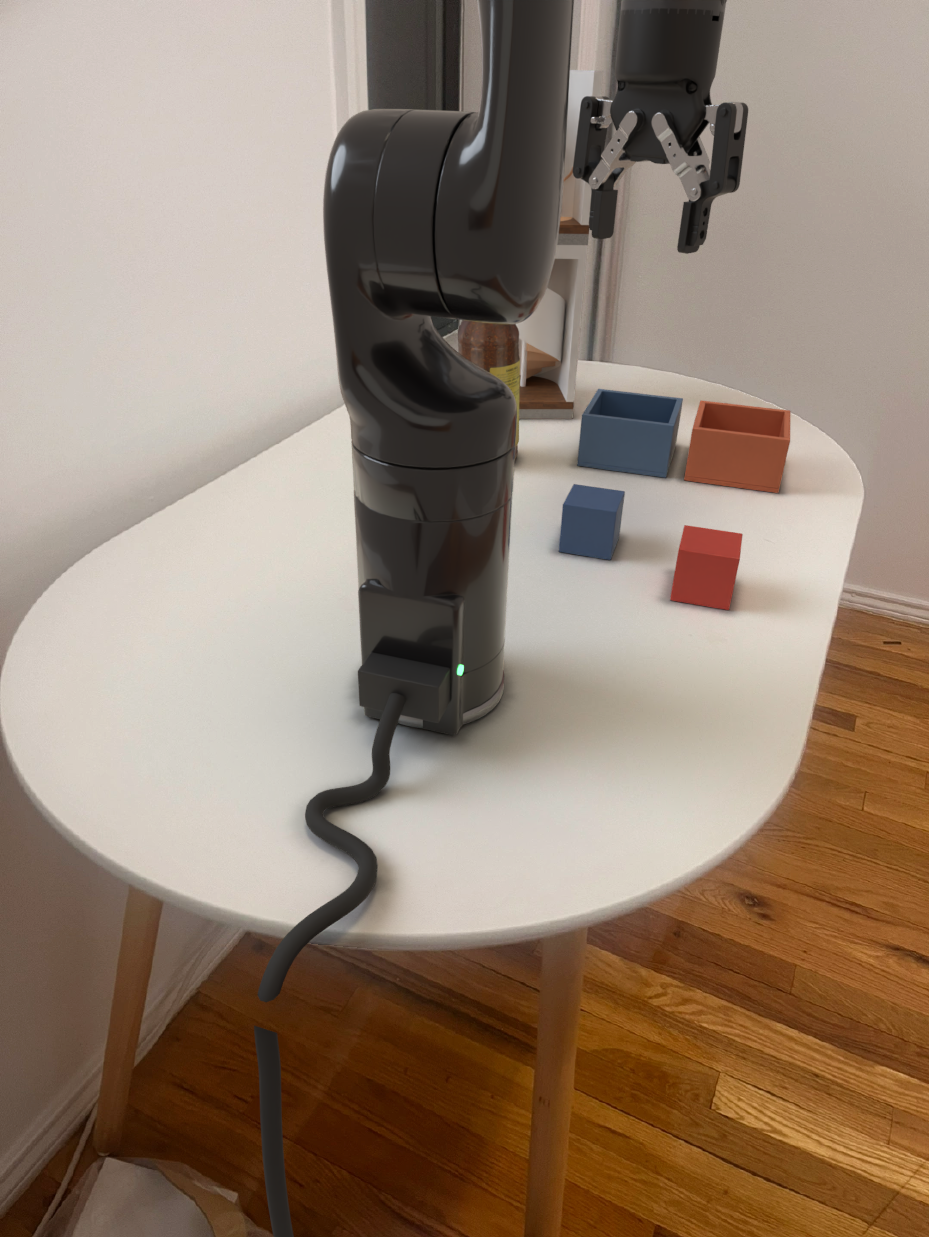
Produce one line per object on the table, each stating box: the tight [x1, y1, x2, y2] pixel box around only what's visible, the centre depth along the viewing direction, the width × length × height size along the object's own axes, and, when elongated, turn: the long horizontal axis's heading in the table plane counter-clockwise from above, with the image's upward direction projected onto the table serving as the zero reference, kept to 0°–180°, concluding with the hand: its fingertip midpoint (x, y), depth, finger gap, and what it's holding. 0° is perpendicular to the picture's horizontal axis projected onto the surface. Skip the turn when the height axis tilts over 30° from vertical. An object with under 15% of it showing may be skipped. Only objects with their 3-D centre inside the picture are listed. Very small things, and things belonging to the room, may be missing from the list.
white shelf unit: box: [516, 69, 604, 420], centre depth 99 cm, size 11×11×35 cm
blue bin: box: [576, 388, 684, 479], centre depth 93 cm, size 9×9×6 cm
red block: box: [669, 524, 743, 611], centre depth 69 cm, size 4×4×4 cm
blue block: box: [558, 483, 626, 561], centre depth 75 cm, size 4×4×4 cm
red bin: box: [683, 400, 791, 494], centre depth 90 cm, size 9×9×6 cm
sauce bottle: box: [457, 320, 520, 460], centre depth 88 cm, size 6×6×20 cm
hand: (643, 245), depth 73 cm, fingers open, 8 cm apart
